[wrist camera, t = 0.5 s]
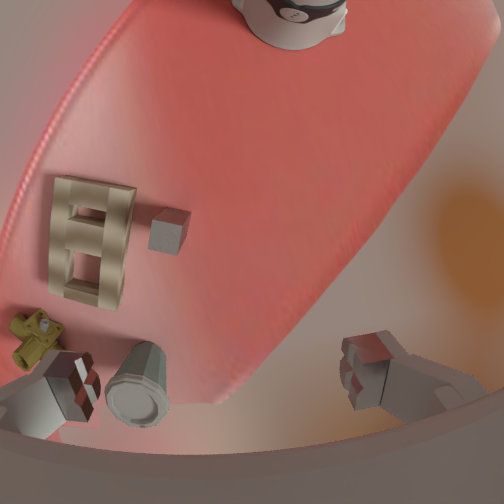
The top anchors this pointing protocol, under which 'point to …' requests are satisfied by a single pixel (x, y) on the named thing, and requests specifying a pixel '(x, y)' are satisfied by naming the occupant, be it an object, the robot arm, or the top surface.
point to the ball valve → (34, 338)
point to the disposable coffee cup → (139, 387)
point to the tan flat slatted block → (89, 239)
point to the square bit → (169, 230)
